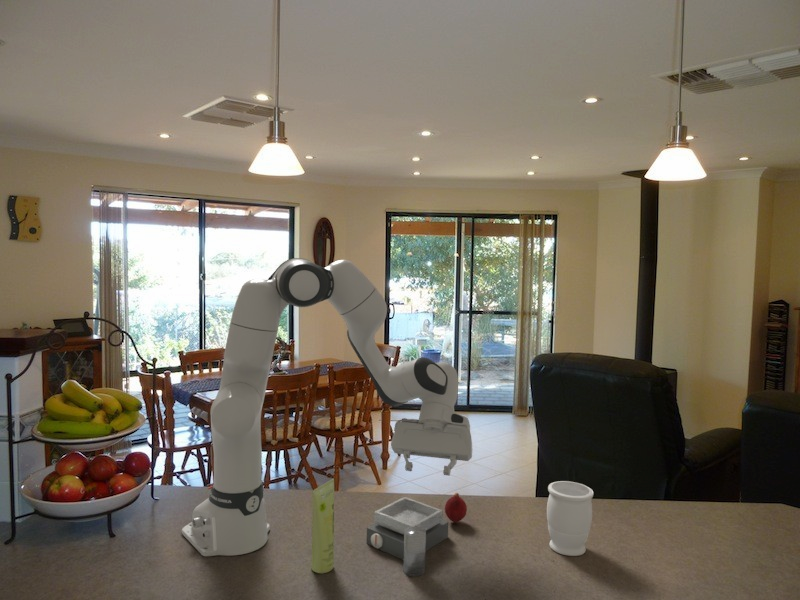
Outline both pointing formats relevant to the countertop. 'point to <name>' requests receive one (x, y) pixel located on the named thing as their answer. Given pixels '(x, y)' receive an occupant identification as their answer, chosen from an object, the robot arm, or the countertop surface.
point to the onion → (455, 508)
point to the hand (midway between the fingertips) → (427, 472)
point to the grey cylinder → (414, 551)
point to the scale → (402, 538)
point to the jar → (569, 516)
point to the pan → (407, 515)
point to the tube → (323, 528)
